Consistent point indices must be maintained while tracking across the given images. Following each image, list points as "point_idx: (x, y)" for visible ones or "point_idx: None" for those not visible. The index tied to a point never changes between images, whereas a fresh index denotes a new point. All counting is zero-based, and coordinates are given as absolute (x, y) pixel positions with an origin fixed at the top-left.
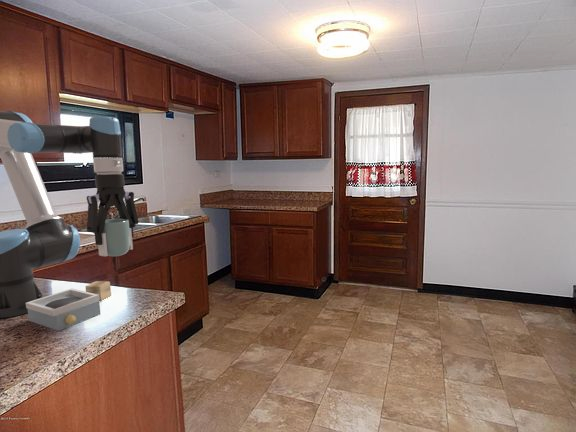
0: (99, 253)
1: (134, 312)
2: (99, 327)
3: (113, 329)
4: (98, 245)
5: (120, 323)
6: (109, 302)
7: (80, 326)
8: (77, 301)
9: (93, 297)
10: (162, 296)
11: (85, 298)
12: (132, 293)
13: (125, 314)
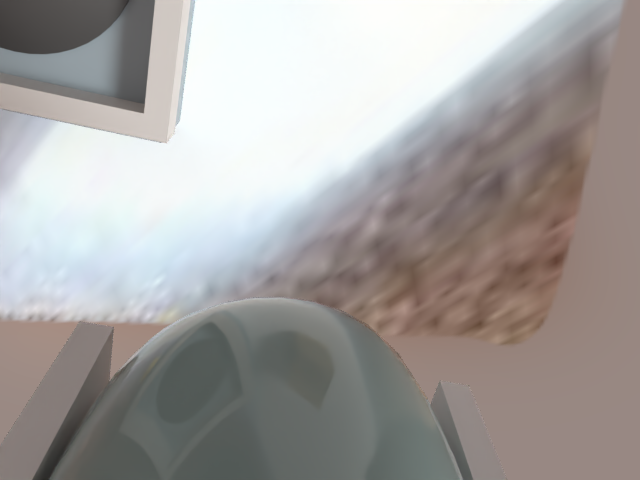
0: (68, 347)
1: (255, 277)
2: (53, 240)
3: (66, 312)
4: (20, 420)
5: (127, 299)
6: (350, 31)
7: (17, 139)
8: (10, 94)
9: (123, 132)
10: (488, 278)
11: (76, 103)
12: (525, 68)
13: (220, 252)
